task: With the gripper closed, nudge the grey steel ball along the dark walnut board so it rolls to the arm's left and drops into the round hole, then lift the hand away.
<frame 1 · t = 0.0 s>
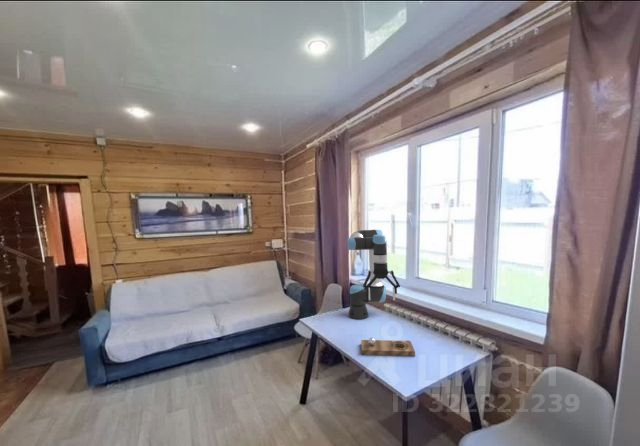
hand: (381, 299, 150), 28 cm above the table, fingers open, 13 cm apart
board: (386, 349, 149), on the table
ball: (372, 341, 150), point 4 cm above the table, touching board
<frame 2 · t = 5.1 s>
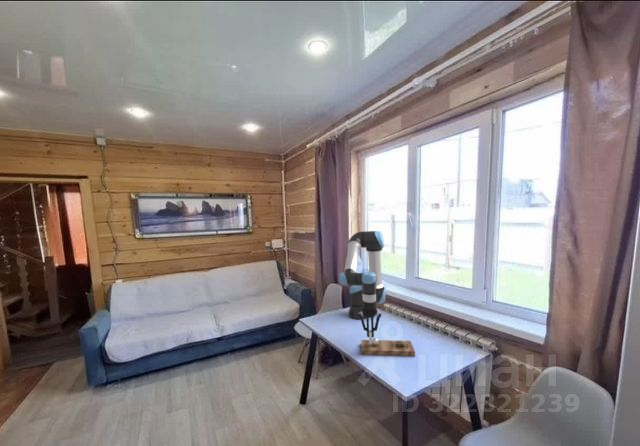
hand: (370, 342, 150), 4 cm above the table, fingers closed
ball: (375, 341, 150), point 4 cm above the table, tilted 48°, touching board, gripper
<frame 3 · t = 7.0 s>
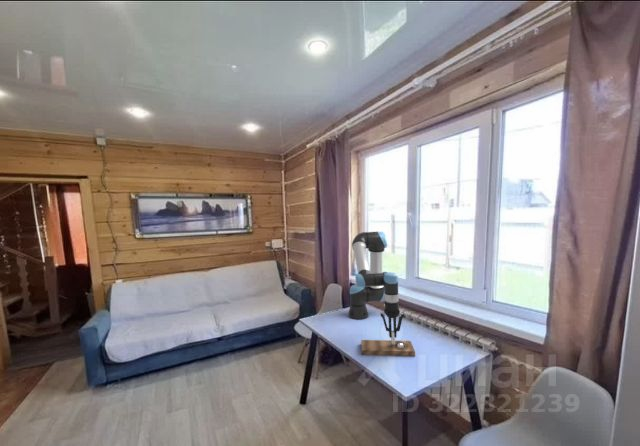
hand: (393, 343, 149), 4 cm above the table, fingers closed
ball: (400, 346, 148), point 2 cm above the table, tilted 70°
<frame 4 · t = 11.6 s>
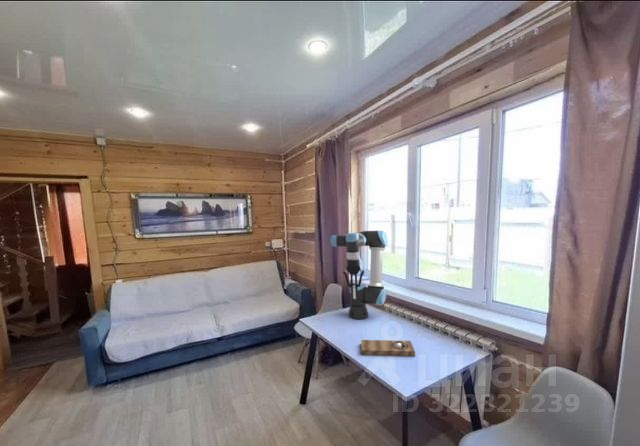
hand: (354, 298, 160), 26 cm above the table, fingers closed
ball: (398, 346, 148), point 2 cm above the table, tilted 43°
at the end: ball 0.5 cm from the target spot on the board, point 2.0 cm above the board's base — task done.
